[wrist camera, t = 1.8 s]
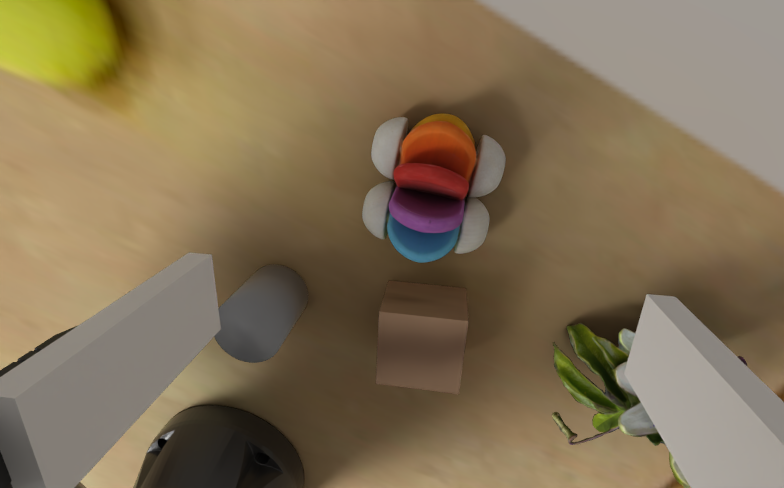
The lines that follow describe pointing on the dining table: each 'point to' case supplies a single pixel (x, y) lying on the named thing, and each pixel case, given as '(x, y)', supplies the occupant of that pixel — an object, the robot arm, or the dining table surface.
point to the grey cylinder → (261, 313)
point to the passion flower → (607, 388)
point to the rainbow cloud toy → (432, 186)
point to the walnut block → (422, 336)
